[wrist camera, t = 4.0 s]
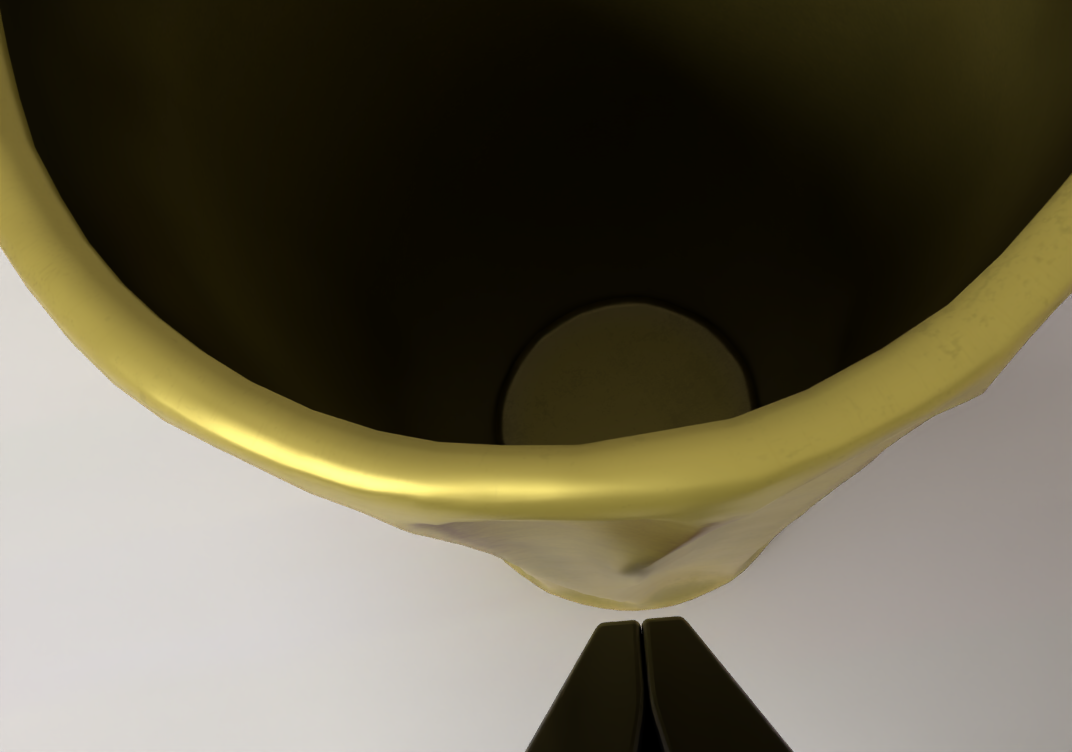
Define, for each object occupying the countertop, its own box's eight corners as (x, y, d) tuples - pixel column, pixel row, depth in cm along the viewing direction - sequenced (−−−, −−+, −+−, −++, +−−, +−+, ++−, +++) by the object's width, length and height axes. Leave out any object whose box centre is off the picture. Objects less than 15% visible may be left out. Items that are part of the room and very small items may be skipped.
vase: (862, 345, 18) (1670, -609, 4) (717, 676, 17) (1055, 1071, 3) (545, 211, 19) (246, -898, 5) (394, 515, 18) (-511, 225, 4)
